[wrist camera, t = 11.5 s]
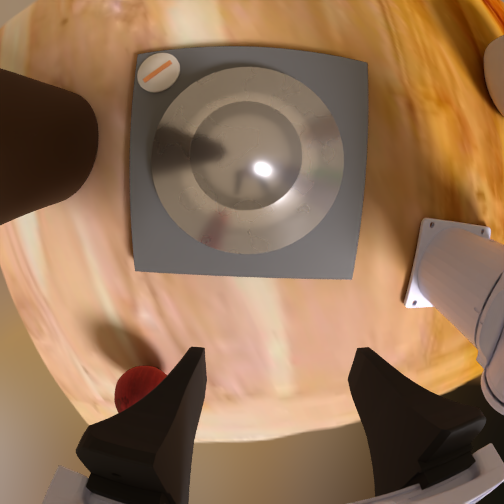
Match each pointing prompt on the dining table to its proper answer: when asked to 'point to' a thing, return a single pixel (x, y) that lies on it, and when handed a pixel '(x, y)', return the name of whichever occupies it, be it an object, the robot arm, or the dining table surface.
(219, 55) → the scale base
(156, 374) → the onion
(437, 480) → the robot arm
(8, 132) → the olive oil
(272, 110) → the cylinder
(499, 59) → the teacup
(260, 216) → the scale pan
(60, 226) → the dining table surface
